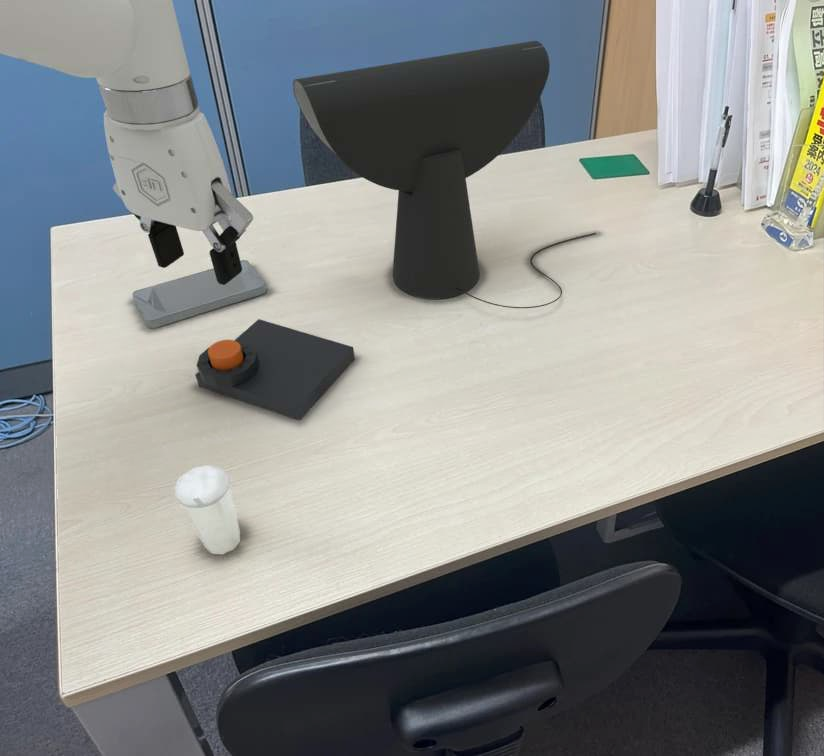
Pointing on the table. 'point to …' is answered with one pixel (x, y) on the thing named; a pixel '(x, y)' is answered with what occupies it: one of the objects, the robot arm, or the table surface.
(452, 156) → the table lamp
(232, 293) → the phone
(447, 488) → the table surface
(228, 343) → the button
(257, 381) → the dark grey flat block
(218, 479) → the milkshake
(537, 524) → the table surface
